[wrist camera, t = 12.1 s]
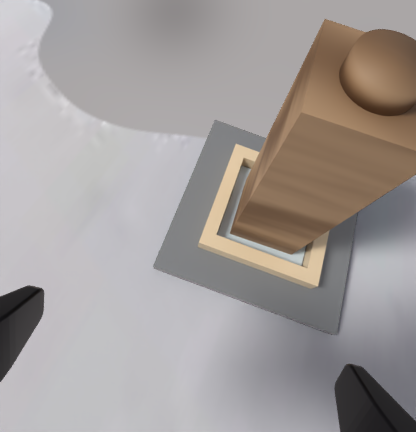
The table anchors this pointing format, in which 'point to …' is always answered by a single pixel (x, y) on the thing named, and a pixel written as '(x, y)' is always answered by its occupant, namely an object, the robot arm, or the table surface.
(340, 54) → the walnut column
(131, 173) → the table surface
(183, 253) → the gray square base plate
